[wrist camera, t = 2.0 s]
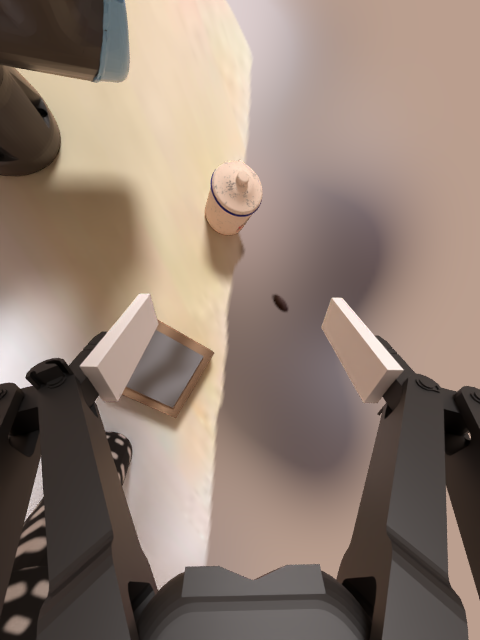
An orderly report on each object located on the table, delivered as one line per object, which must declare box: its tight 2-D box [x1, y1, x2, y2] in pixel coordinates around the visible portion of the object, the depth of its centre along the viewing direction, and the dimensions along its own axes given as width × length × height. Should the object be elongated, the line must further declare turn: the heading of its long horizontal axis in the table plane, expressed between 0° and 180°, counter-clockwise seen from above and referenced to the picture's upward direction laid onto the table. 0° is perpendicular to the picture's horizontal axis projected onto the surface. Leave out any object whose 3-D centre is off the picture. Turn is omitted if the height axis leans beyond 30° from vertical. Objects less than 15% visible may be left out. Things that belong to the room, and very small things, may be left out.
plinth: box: [122, 320, 214, 418], centre depth 35 cm, size 13×13×4 cm
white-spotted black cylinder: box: [0, 432, 132, 640], centre depth 25 cm, size 8×8×20 cm
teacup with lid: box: [205, 160, 262, 235], centre depth 36 cm, size 12×9×12 cm
